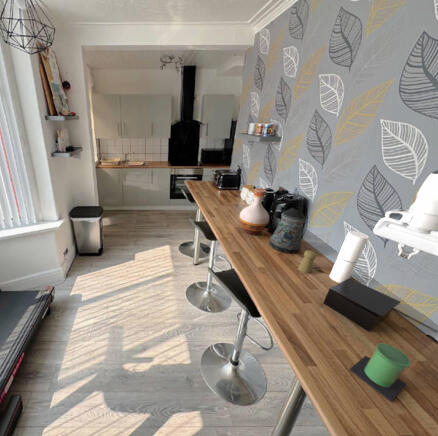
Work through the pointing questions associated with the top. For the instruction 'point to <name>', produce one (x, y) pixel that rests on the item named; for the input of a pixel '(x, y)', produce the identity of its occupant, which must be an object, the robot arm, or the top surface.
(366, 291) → the bin lid
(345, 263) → the cylindrical container
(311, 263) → the cork
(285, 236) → the beer stein
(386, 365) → the pot
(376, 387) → the mat
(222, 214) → the top surface
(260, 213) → the white vase
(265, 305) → the top surface
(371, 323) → the bin
